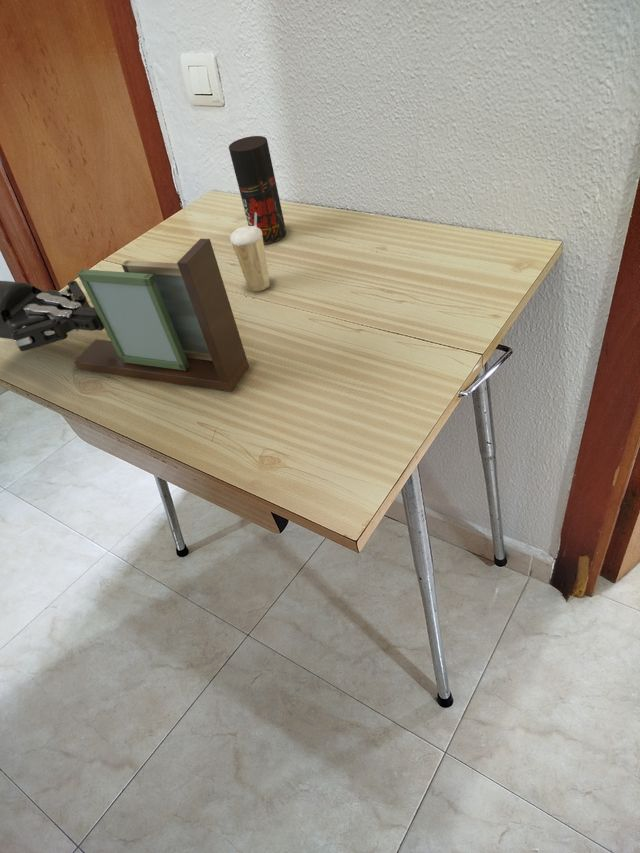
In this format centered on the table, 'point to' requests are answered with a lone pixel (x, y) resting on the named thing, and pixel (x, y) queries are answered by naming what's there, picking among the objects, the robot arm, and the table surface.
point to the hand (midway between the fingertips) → (103, 319)
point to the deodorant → (258, 186)
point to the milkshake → (251, 255)
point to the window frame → (185, 325)
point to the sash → (135, 318)
